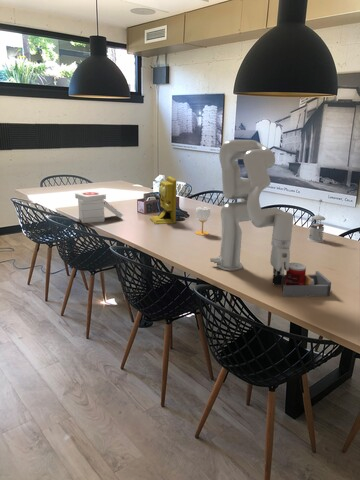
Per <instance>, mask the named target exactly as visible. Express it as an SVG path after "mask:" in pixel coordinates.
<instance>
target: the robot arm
mask: <svg viewBox="0 0 360 480" xmlns="http://www.w3.org/2000/svg"><path fill="white" fill-rule="evenodd" d="M218 153H219V154H218V155H219V163H220V166H221V179H222V194H223V197H224V199H226V200H240V201H233V202H229V203H225V204H224V205H222V207H221V209H220V218H221V219H220V220H221V236H220V237H221V238H220V239H221V241H220V252H219V253H220V255H218V257H216V258H214V257H211V258H210V262H211V263H214V264H216V267H217V268H219V269H220V270H224V271H230V272H231V271H232V272H233V271H239V270H241V269H243V263H242V262H240V259H241V252H242V251H241V249H242V233H243V232H242V228H241V225H240V223H241V222H242V223H243V222H249V221H250V222H251V224H252V225H253V226H254V227H256V228H261V229H262V228H267V227H268V228H269V227H272V236H271V237H272V238H271V252H270V265H271V266H272V284H273V285H274V286H275V285H276V286H281V285H280V284H281V280H282V275H285V271H289V263H291V262H290V260H291V259H290V258H291V256H290V255H291V253H290V252H291V250H290V248H291V244H292V243H291V242H292V236H293V235H292V234H293V227H294V226H293V225H294V214H293V213H291V212H288V211H284V210H283V209H280V208H278V207H267V208H262V207H261V203H260V195H261V193H262V192H263V190H265V189H267V188H269V186H270V185H271V183H272V182H271V179H270V175H269V172H268V169H271V168H273V167H274V165H275V163H276V156H275V153H274V152H273V151H272V150H271V149H270V148H269V147H267V146H265V145H263V144H262V143H261V142H259V141H258V140H255V139H231V140H227V141H225V142H223V144H221V147H220V149H219V152H218ZM237 160H243V165H244V169H245V172H246V175H247V177H241V167H240V165H239V163H238V162H237Z"/></svg>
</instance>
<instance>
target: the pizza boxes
mask: <svg viewBox="0 0 360 480" xmlns="http://www.w3.org/2000/svg"><path fill="white" fill-rule="evenodd" d="M74 194H75V195H74V197H75V199H77V200H78V201H77V202H78V205H77V206H78V218H79V221H81V223H82V224H86V223H101V222H102V223H103V222H105V208H106V209H107V210H108V211H110V212H111V213H112V214H114V215H115V216H116V217H118V218H120V219H121V218H122V216H124V214H123V213H122V212H121V211H119V210H118V208H116V207H114V206H113V205H112V204H110V203H109V202H108V201H107V200H106V199H107V196H106V195H107V194H105V193H101V192H99V191H95V190H93V191H87V192H86V191H83V192H76V193H74Z"/></svg>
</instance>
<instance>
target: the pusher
mask: <svg viewBox="0 0 360 480" xmlns="http://www.w3.org/2000/svg"><path fill="white" fill-rule="evenodd" d="M304 285H314V279H311V278H310V277H309V276H308V275H307V272H306V273H305V280H304Z"/></svg>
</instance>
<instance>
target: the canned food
mask: <svg viewBox="0 0 360 480" xmlns="http://www.w3.org/2000/svg"><path fill="white" fill-rule="evenodd" d="M285 271H286V270H285ZM306 271H307V266H306V265H305V264H302V263H300V262H289V271H286V272H285V275H286V280H285V285H304V280H305V273H306V274H307V272H306Z"/></svg>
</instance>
